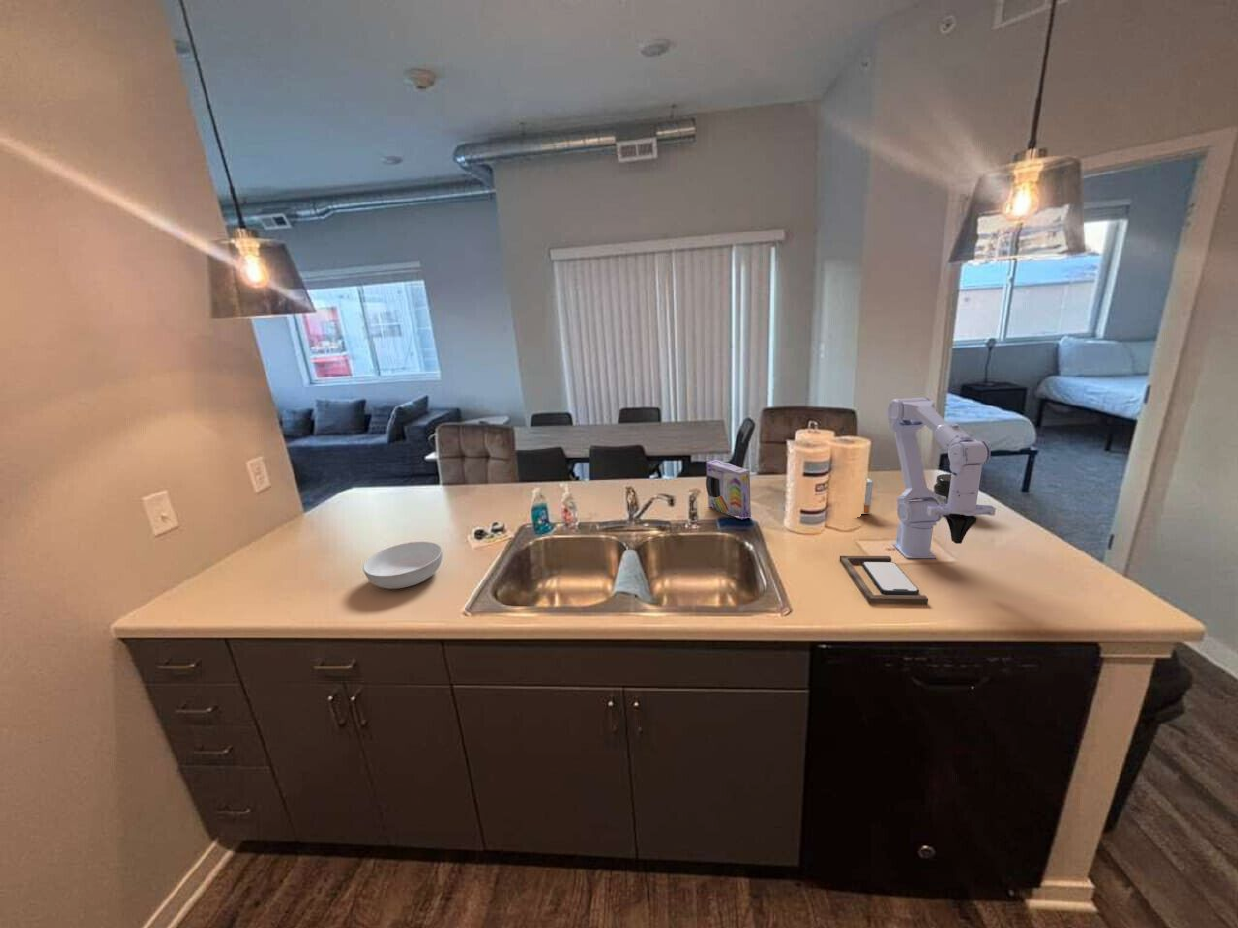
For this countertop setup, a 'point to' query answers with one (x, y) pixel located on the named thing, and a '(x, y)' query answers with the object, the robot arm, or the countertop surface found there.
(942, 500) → the supplement container
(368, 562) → the serving bowl
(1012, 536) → the countertop surface
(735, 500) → the cake pan box
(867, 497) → the skincare box
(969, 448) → the robot arm
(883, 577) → the dark grey smartphone
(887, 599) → the walnut frame
